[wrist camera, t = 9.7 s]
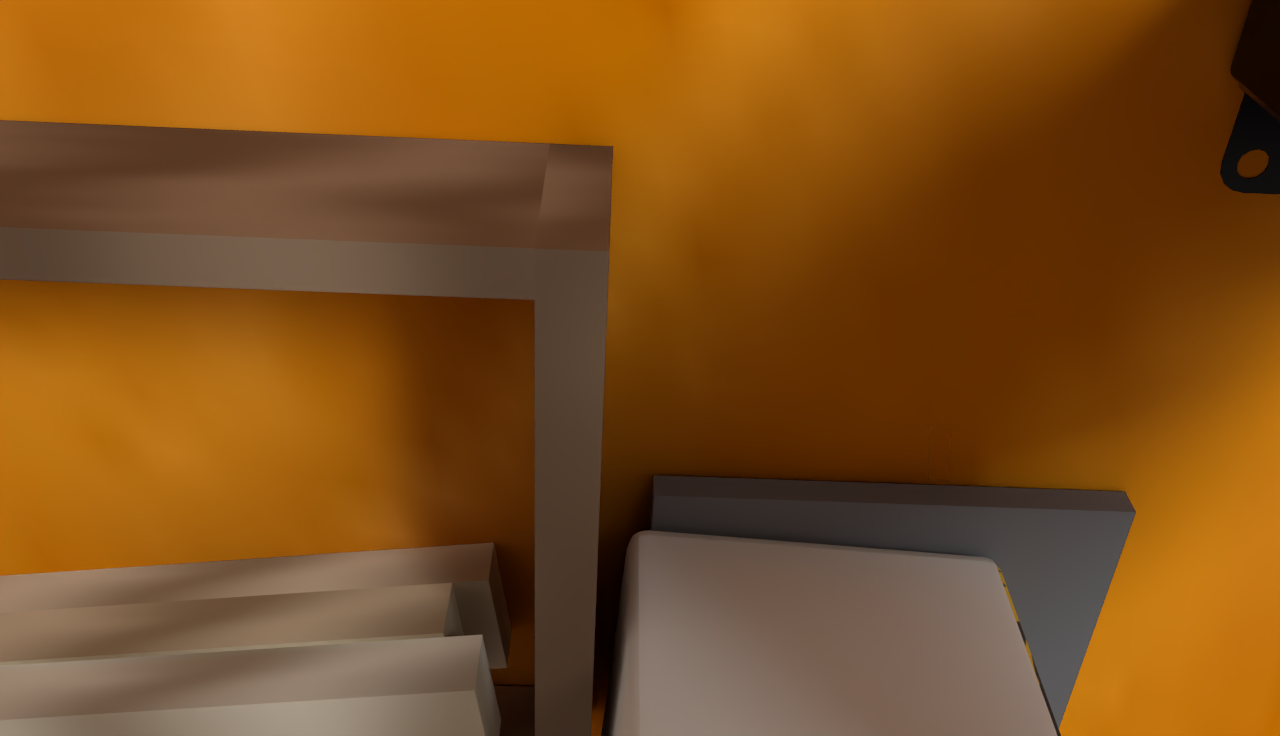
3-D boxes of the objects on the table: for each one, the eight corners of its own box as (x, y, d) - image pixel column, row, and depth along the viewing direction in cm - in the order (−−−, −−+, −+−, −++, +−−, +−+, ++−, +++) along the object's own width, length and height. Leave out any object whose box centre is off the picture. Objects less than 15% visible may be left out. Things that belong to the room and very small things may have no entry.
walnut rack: (613, 145, 19) (609, 250, 16) (591, 713, 27) (586, 855, 24) (-425, 102, 19) (-620, 202, 16) (-154, 692, 26) (-253, 834, 23)
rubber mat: (1125, 491, 23) (1135, 512, 23) (1020, 792, 28) (1028, 814, 28) (653, 475, 23) (654, 496, 22) (632, 782, 28) (632, 804, 27)
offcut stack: (495, 534, 24) (473, 686, 21) (512, 620, 25) (494, 776, 22) (-113, 575, 25) (-225, 730, 21) (-64, 658, 26) (-164, 815, 23)
